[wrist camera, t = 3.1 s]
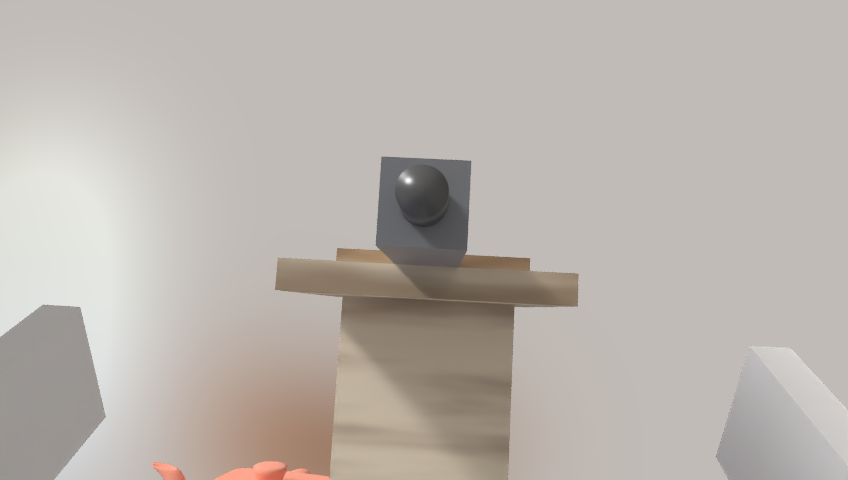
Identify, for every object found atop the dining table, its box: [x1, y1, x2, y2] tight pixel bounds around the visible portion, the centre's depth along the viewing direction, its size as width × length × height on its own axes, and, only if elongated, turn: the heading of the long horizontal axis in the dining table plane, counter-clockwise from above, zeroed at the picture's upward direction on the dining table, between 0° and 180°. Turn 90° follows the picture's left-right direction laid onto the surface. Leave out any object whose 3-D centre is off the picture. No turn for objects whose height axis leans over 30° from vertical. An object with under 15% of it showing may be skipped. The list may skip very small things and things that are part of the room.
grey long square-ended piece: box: [376, 157, 471, 267], centre depth 29 cm, size 24×3×3 cm, turn 178°
